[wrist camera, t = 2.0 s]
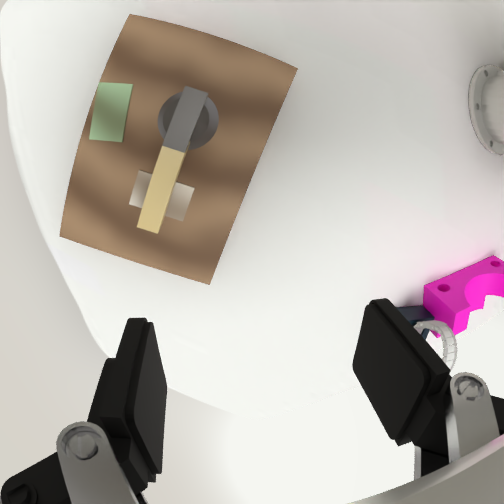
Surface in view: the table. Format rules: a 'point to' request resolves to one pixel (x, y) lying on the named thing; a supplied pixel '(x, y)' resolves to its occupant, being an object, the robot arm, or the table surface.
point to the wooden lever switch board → (152, 137)
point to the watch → (426, 322)
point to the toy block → (464, 293)
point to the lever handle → (173, 153)
